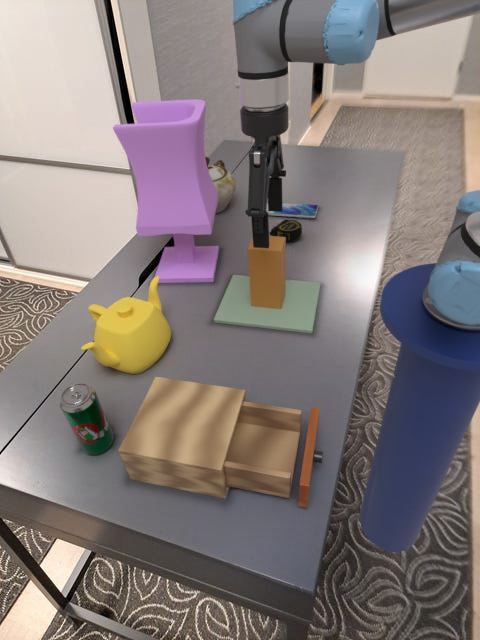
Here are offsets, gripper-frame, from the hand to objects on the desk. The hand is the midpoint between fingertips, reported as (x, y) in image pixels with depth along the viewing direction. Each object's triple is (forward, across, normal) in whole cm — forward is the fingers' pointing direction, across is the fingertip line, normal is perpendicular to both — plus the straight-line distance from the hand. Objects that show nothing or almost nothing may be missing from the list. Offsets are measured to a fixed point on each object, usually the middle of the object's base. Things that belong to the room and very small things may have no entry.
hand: (268, 227), depth 82 cm
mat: (+18, 0, -1) cm, 18 cm away
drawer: (+17, +37, +7) cm, 41 cm away
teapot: (+18, +18, -25) cm, 35 cm away
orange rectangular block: (+17, 0, -1) cm, 17 cm away
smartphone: (+18, -41, -3) cm, 45 cm away
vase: (+18, -11, -23) cm, 31 cm away
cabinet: (+18, +37, -6) cm, 41 cm away
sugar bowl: (+18, -41, -26) cm, 52 cm away
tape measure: (+18, -27, -2) cm, 33 cm away
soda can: (+18, +39, -21) cm, 48 cm away
